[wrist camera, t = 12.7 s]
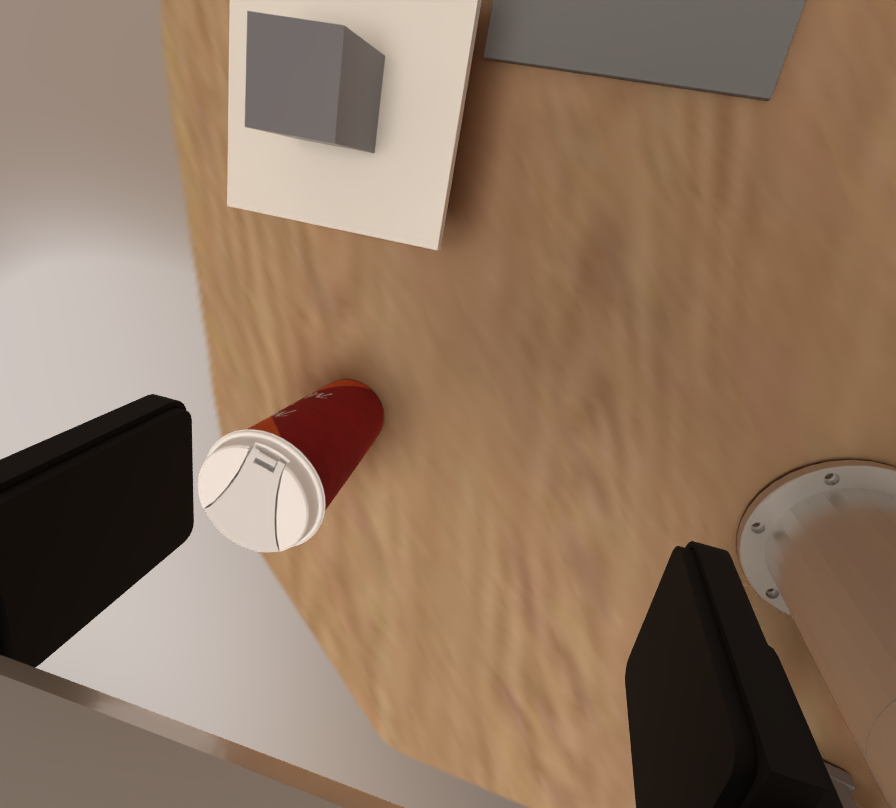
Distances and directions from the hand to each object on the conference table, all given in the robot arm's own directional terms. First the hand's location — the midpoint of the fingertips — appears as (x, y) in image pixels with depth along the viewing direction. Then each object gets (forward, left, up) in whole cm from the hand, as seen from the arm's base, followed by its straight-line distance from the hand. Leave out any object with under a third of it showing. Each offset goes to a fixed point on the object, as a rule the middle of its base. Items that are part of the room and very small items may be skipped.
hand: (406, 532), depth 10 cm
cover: (+12, -9, -22) cm, 27 cm away
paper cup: (+12, +12, -28) cm, 33 cm away
